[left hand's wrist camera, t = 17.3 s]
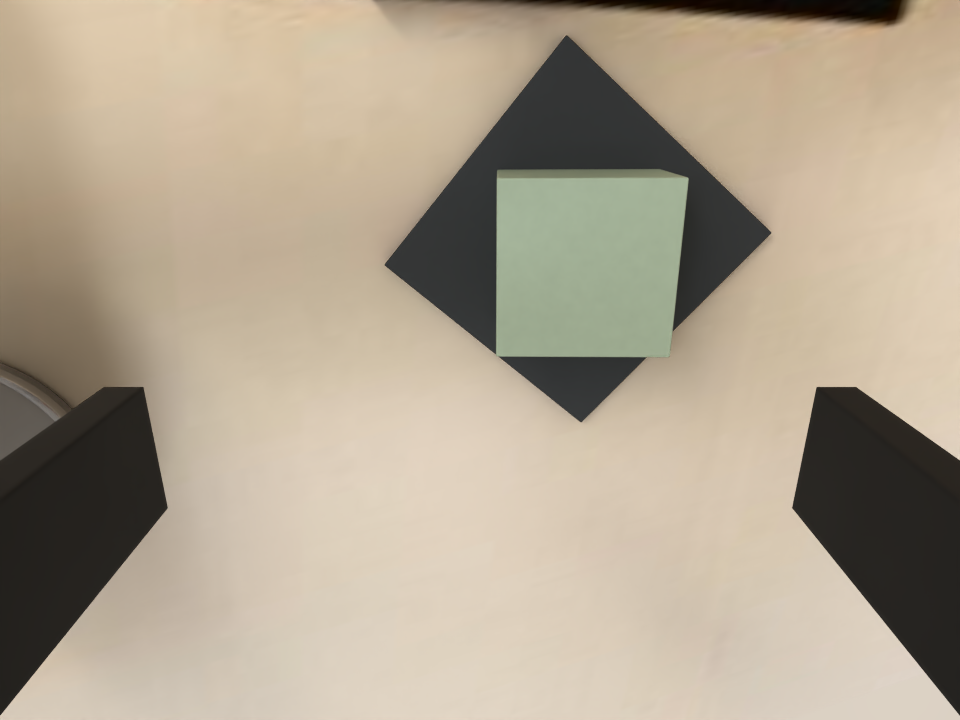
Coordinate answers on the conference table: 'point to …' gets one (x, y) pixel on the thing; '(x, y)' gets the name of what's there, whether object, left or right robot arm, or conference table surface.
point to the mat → (567, 145)
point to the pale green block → (587, 261)
